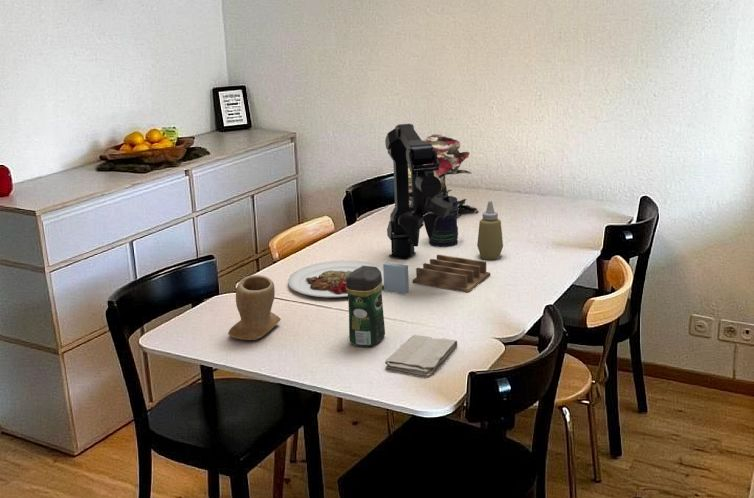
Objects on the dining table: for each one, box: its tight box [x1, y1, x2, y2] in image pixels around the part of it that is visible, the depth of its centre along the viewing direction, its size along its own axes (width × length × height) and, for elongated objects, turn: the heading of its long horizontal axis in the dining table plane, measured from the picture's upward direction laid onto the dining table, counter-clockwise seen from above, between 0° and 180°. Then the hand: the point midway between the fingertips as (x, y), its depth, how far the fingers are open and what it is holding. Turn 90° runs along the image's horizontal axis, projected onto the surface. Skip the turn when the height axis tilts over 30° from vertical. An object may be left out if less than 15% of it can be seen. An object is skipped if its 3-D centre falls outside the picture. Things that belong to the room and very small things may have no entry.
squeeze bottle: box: [476, 200, 504, 260], centre depth 262 cm, size 8×8×18 cm
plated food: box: [287, 260, 384, 298], centre depth 248 cm, size 30×30×3 cm
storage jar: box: [428, 195, 459, 248], centre depth 278 cm, size 10×10×15 cm
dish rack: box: [411, 254, 491, 293], centre depth 246 cm, size 18×15×4 cm
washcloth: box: [384, 334, 458, 378], centre depth 198 cm, size 12×18×3 cm, turn 155°
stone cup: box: [227, 274, 281, 341], centre depth 215 cm, size 15×12×15 cm
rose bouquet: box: [408, 133, 479, 218], centre depth 308 cm, size 26×29×30 cm
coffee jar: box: [346, 266, 386, 348], centre depth 206 cm, size 10×8×19 cm
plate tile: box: [382, 261, 410, 295], centre depth 239 cm, size 7×2×8 cm, turn 59°
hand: (423, 241), depth 240 cm, fingers open, 9 cm apart
